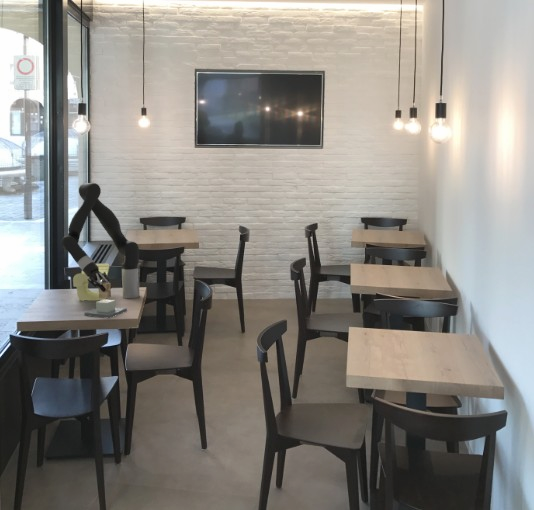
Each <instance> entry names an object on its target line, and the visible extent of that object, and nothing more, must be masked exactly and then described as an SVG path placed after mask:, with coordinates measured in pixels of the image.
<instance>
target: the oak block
mask: <svg viewBox="0 0 534 510" xmlns="http://www.w3.org/2000/svg"><path fill="white" fill-rule="evenodd" d="M101 284H102V285H103V286H104V287H105V288H106V290H105V292H103V291H102V290H101V289H100V288H99V287H98V293H99V298H107V299H108V298H111V297H112V291H111V289H112V288H111V287H112V285H111V282H108V283H106V282H105V281H104V282H103V283H101Z"/></svg>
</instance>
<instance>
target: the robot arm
mask: <svg viewBox="0 0 534 510" xmlns="http://www.w3.org/2000/svg"><path fill="white" fill-rule="evenodd" d="M101 190H102V189H101V187H100V185H99V184H97V183H95V182H85V183H82V184H80V185H79V187H78V193H79V196H80V198H81V199H82V201H83V202H82V204H81V206H79V208H78V210H77V211H76V212H75V214H74V215H73V217H72V218H71V221H70V223H69V226H68V230H67V231H68V233H67V235H65V236H63V238H62V239H61V245H62V246H63V248H64V249H65V250H66V251H67V252H68V253H69V255H71V257H72V259H73V260H74V261H75V263H76V264H77V265H78V267H79V269H80V270H81V272H82V271H83V272H84V273H85V274H86V275H87V276H88V277H89V278H88V279H87V280H88V281H89V282H88V283H90V284H92V285H93V286H94V287H95V288H96V287H97V288H98V289H99V288H100V289H101V290H102V291H103V292H105V290H106V288H105V287H104V286H103V285H102V284H101V283H103V282H106V283H109V282H110V279H109V277H108V276H107V275H106V273H105V272H104V273H101V272H100V271H99V268H98V266H97V265H96V264H97V263H96V262H95V261H94V260H93V259H92V258H91V257H90V256H89V255H88V254H87V253H86V251H85V250H84V249H83V248H82V247H81V246H80V244H79V241H80V237H81V234H82V232H83V231H82V230H83V228H84V227H85V223H86V221H87V218H88V217H89V215H90V213H91V211H92V212H93V214H94V216H95V217H96V219H97V220H98V221H99V223H100V224H101V226H102V228H103V229H104V231H106V233H107V234H108V236H109V237H110V238H111V240H112V242H113V243H114V245H115V247H116V249H117V251H118V252H119V254H120V255H121V256H123V257H124V262H122V263H121V281H122V282H121V283H122V297H124V298H123V299H136V298H140V296H141V294H140V280H139V262H140V249H139V248H140V247H139V245H138V243H137V242H135V241H132V240H128V239H127V238H126V237H125V235H124V234H123V232H122V229H121V223H120V221H119V219H118V218H117V216H116V215H115V213H114V212H113V211H112V210H111V208H109V207H108V206H106V205H105V204H104V203H103V202H102V201H100V199H99V197H100V196H101V193H102V191H101ZM102 278H103V279H102ZM101 279H102V280H101ZM112 288H113V287H112V286H111V289H112Z"/></svg>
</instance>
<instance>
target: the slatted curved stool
mask: <svg viewBox="0 0 534 510" xmlns="http://www.w3.org/2000/svg"><path fill="white" fill-rule="evenodd" d="M95 264H96V265H97V266H98V268H99V271H100V272H101V273H104V272H105V273H106V275H107V277H108V275H109V271H110V263H95ZM88 278H89V277H88V276H87V275H86V274H85V273H84V272H83V271H82V270H81V272H80V273H76V274H75V275H74V276H73V279H72V282H73V283H72V284H73V287H76V295H77V297H78V299H79V300H80V301H82V302H85V301H84V300H103V299H106V298H99V291H98V292H95V291H92V290H90V289H89V287H88V286H89V283H90V282H89V281H88V280H87V279H88ZM102 279H103V278H102ZM102 279H101V280H102ZM106 300H107V299H106Z"/></svg>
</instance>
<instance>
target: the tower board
mask: <svg viewBox="0 0 534 510" xmlns="http://www.w3.org/2000/svg"><path fill="white" fill-rule="evenodd" d="M95 305H96V306H95V308H93V309H90V310H88V311H85V312H84V315H83V316H86V315H91V316H90V317H95V316H98V317H97V318H104V317H108V318H107V319H111V318H113V316H114V317H116V316H118V314H119V315H122V314H123V312H124V313H126V312H128V308H127V307H116V301H115V299H103V300H100V301H95ZM115 315H116V316H115ZM110 317H111V318H110Z"/></svg>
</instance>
